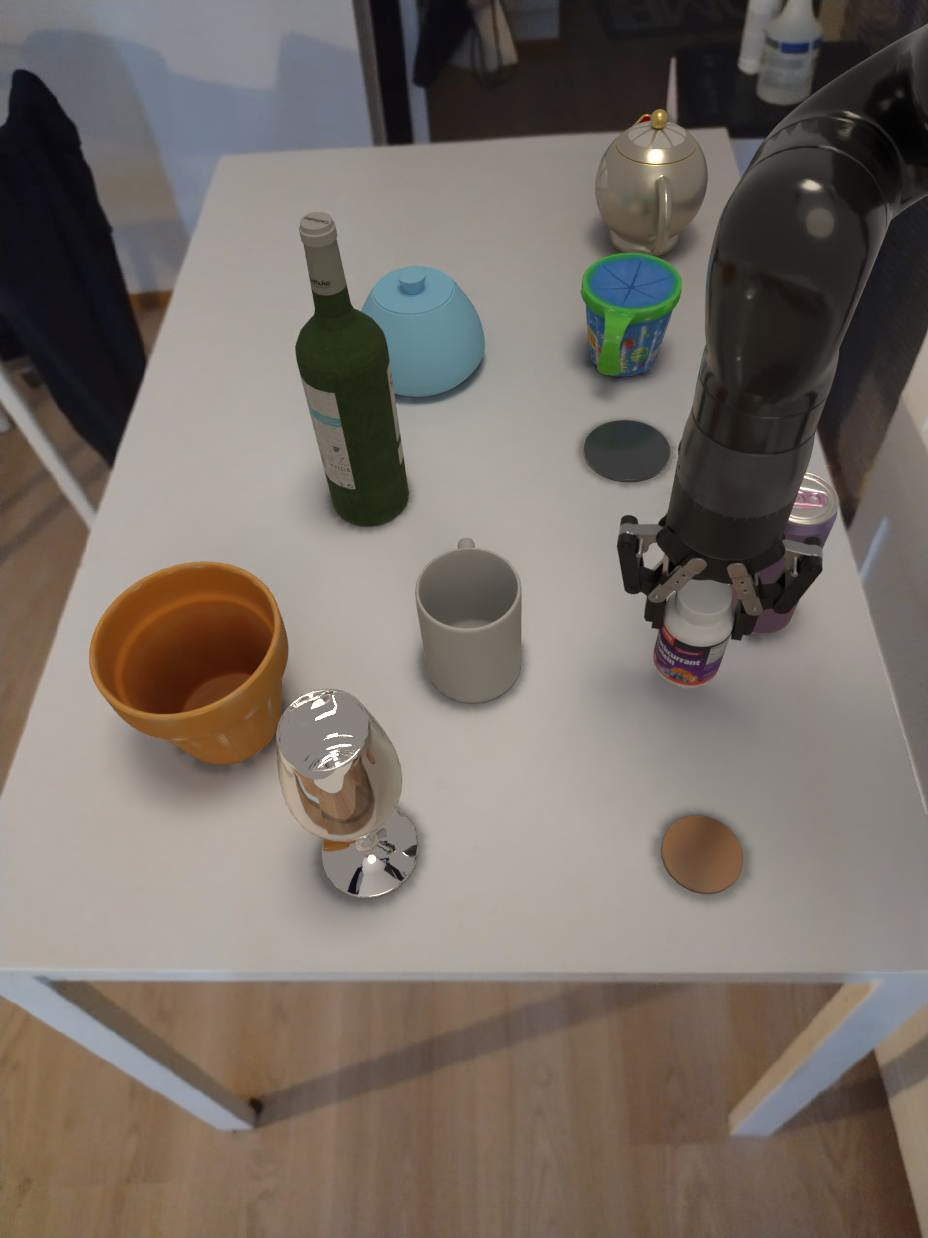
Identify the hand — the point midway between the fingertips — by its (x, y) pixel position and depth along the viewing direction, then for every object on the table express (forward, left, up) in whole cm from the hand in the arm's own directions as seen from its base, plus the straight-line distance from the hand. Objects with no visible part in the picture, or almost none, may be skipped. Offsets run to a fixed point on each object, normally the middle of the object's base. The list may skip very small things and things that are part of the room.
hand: (696, 624), depth 67 cm
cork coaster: (-3, +15, -9) cm, 18 cm away
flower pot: (+37, +10, -9) cm, 40 cm away
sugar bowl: (+32, -39, -9) cm, 51 cm away
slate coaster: (+7, -28, -9) cm, 30 cm away
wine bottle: (+32, -17, -9) cm, 38 cm away
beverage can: (-6, -9, -9) cm, 14 cm away
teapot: (+9, -65, -9) cm, 67 cm away
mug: (+18, -1, -9) cm, 20 cm away
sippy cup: (+9, -43, -9) cm, 45 cm away
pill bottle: (0, 0, -6) cm, 6 cm away
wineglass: (+22, +19, -9) cm, 31 cm away
